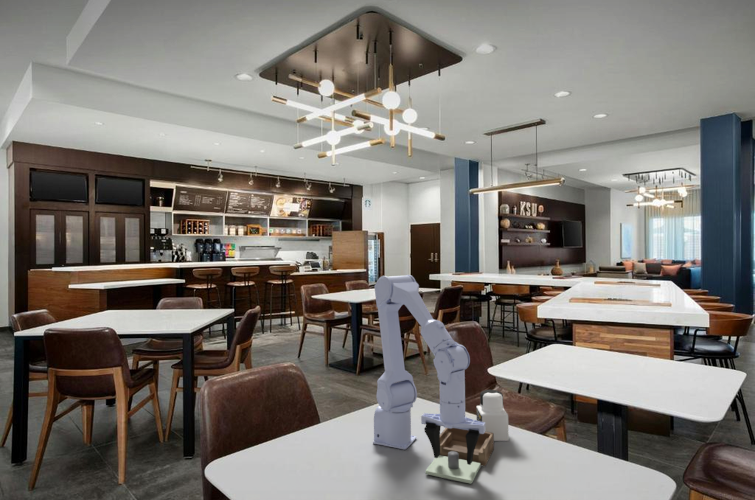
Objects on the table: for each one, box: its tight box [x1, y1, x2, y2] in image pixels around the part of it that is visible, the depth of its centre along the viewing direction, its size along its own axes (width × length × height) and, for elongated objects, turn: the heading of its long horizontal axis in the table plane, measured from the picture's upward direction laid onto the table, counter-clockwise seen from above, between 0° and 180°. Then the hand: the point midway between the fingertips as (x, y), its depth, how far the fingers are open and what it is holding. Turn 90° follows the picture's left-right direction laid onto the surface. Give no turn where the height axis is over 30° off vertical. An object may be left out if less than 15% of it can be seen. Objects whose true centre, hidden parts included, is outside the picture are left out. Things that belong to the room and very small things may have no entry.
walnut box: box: [440, 427, 495, 467], centre depth 110 cm, size 10×12×4 cm
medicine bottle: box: [476, 389, 510, 442], centre depth 120 cm, size 7×7×12 cm
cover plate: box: [425, 451, 481, 485], centre depth 101 cm, size 9×10×4 cm
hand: (453, 459), depth 101 cm, fingers open, 7 cm apart
